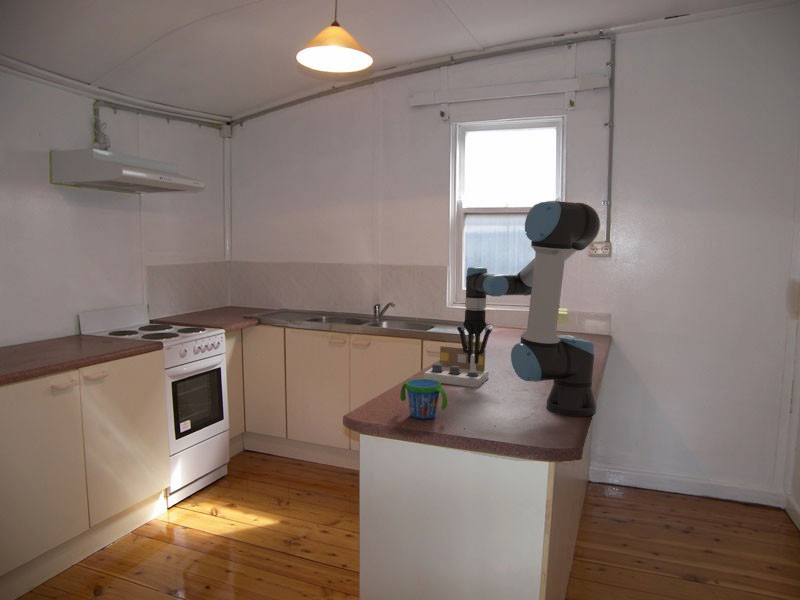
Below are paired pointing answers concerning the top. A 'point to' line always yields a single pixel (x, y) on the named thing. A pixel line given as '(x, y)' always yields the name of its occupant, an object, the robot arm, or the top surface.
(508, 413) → the top surface
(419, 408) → the snack cup
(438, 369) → the button left
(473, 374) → the button right
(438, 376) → the button panel
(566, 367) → the robot arm
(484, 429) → the top surface
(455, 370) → the button middle
